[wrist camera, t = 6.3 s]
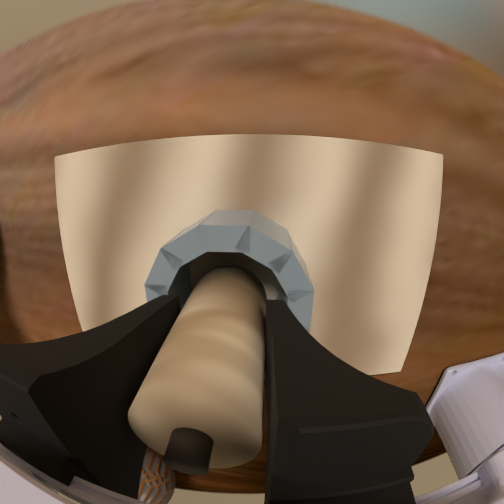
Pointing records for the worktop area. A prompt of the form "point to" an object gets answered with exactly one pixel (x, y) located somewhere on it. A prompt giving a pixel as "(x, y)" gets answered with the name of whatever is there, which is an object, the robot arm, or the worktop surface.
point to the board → (273, 207)
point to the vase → (156, 479)
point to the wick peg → (208, 377)
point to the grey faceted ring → (234, 240)
